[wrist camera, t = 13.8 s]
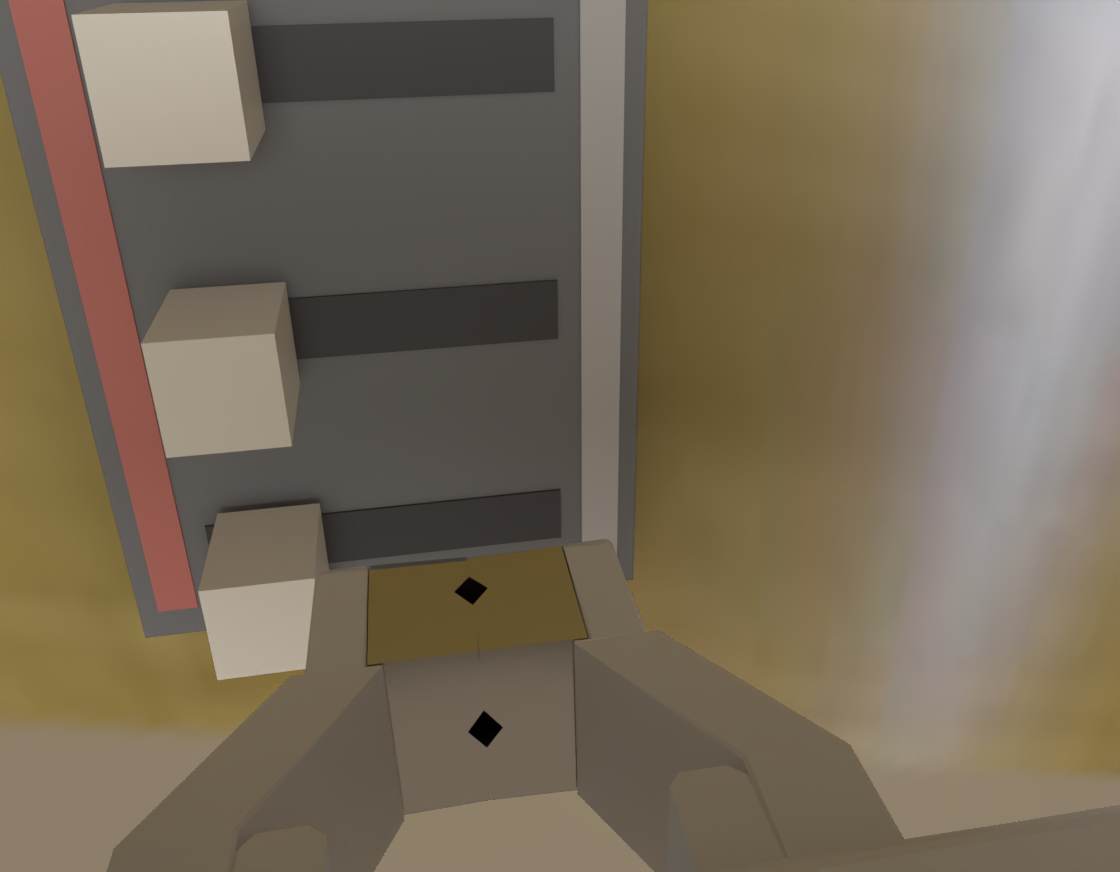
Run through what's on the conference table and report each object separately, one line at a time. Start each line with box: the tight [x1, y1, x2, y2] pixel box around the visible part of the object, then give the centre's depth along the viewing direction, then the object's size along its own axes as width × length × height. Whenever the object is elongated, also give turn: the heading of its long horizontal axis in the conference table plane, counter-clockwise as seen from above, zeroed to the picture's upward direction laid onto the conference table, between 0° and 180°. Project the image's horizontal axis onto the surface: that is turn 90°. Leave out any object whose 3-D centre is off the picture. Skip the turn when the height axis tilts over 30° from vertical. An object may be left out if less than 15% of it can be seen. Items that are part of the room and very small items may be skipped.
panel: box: [0, 0, 647, 638], centre depth 29 cm, size 16×20×2 cm
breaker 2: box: [198, 503, 329, 680], centre depth 29 cm, size 3×3×4 cm
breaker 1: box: [71, 0, 266, 168], centre depth 22 cm, size 3×3×4 cm
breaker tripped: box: [141, 282, 300, 458], centre depth 25 cm, size 3×3×4 cm
